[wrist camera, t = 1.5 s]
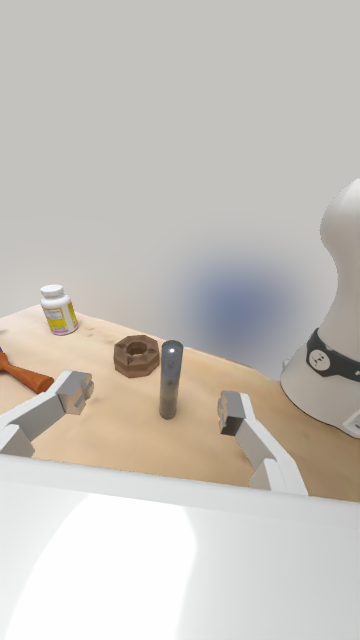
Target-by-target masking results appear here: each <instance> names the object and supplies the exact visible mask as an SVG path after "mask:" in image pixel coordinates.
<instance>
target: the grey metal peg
mask: <svg viewBox="0 0 360 640" xmlns="http://www.w3.org/2000/svg"><path fill="white" fill-rule="evenodd" d="M182 354H183V345H182V344H181V343H180V342H178V341H174V340H170V341H166V342H164V343H163V345H162V357H161V387H160V415H161V417H162V418H164V419H167V420H168V419H172V418H173V417H174V416H175V413H176V405H177V396H178V388H179V379H180V371H181V363H182Z"/></svg>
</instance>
